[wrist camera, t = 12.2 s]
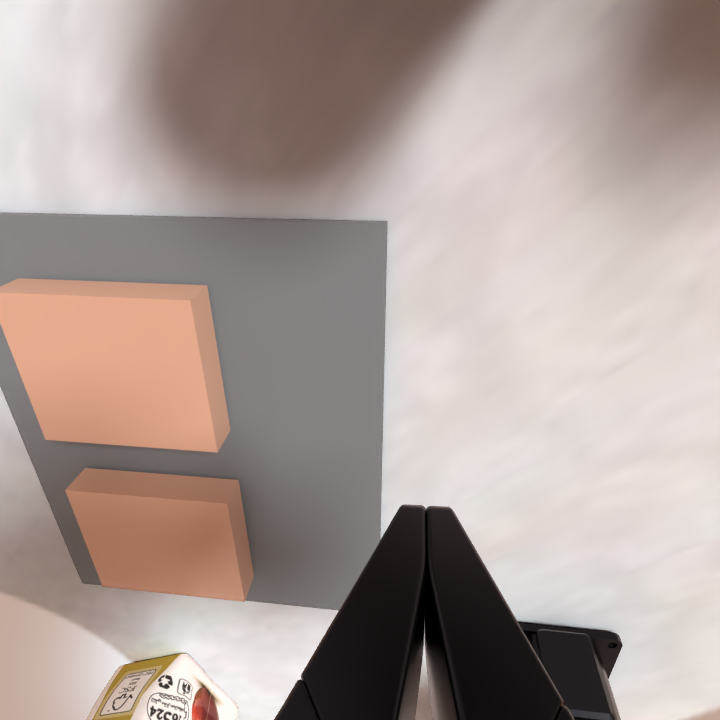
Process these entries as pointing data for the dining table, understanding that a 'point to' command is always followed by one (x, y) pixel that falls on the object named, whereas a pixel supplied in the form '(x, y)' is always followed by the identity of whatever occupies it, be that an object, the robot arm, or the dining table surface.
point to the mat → (243, 379)
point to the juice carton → (163, 693)
